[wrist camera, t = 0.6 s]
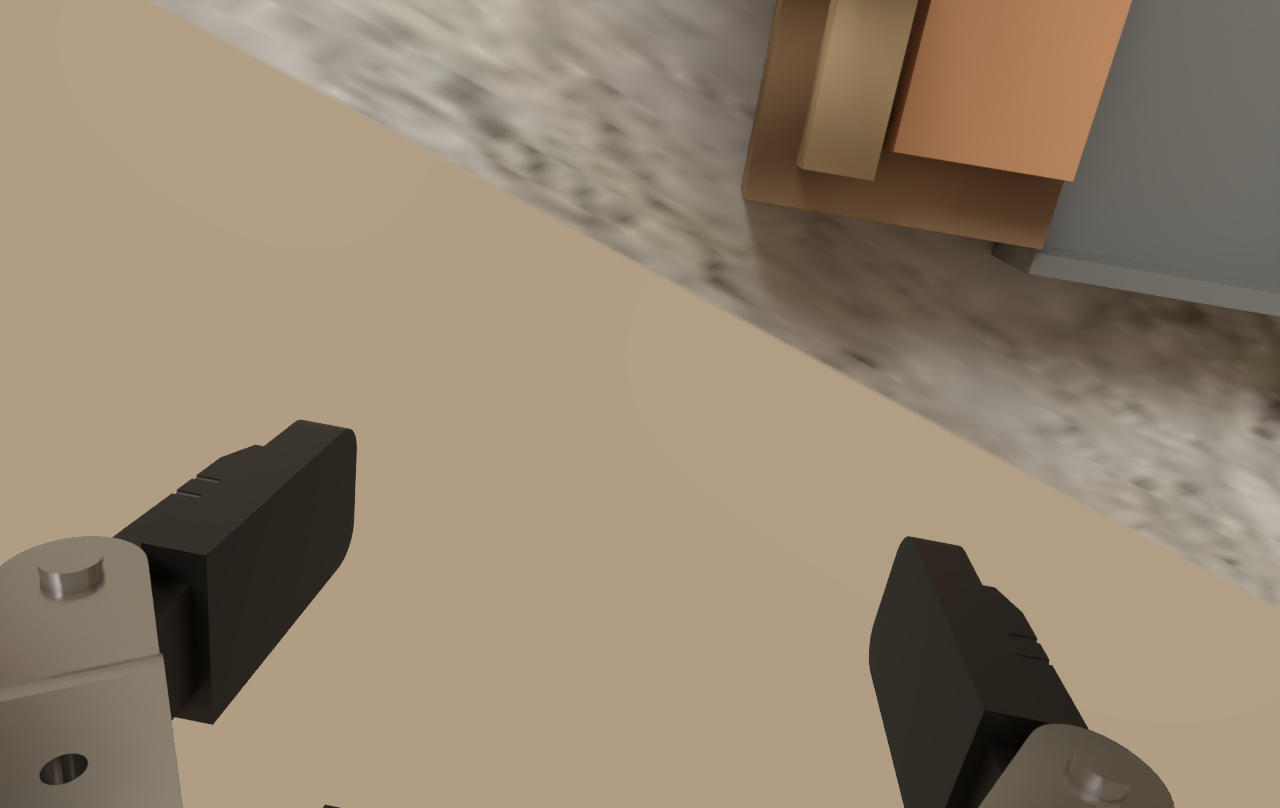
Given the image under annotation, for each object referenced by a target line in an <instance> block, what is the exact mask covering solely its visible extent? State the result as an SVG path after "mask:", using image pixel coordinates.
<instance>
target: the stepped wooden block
mask: <svg viewBox="0 0 1280 808" xmlns="http://www.w3.org/2000/svg"><path fill="white" fill-rule="evenodd" d="M830 2H831V0H777V3H776V8H775V14H774V19H773V24H772V29H771V34H770V40H769V45H768V50H767V55H766V60H765V66H764V71H763V76H762V81H761V86H760V92H759V97H758V102H757V107H756V113H755V118H754V123H753V128H752V133H751V139H750V144H749V149H748V154H747V159H746V165H745V170H744V175H743V180H742V185H741V190H742V193H743V197H744V199H745V200H751V201H757V202H763V203H769V204H775V205H781V206H787V207H793V208H799V209H805V210H810V211H816V212H822V213H828V214H834V215H840V216H846V217H852V218H858V219H864V220H870V221H876V222H881V223H887V224H893V225H899V226H905V227H911V228H917V229H923V230H929V231H935V232H941V233H947V234H953V235H958V236H964V237H970V238H976V239H982V240H988V241H994V242H1000V243H1006V244H1012V245H1018V246H1024V247H1030V248H1035V249H1041V250H1042V248H1043V245H1044V242H1045V239H1046V236H1047V233H1048V230H1049V227H1050V223H1051V220H1052V217H1053V214H1054V211H1055V208H1056V205H1057V202H1058V199H1059V195H1060V192H1061V189H1062V186H1063V183H1064V180H1060V179H1054V178H1048V177H1042V176H1036V175H1030V174H1024V173H1018V172H1012V171H1006V170H1000V169H994V168H988V167H982V166H976V165H970V164H964V163H958V162H952V161H946V160H940V159H934V158H928V157H922V156H915V155H909V154H903V153H897V152H892V151H887V150H882V149H883V145H884V141H885V137H886V133H887V129H888V125H889V121H888V125H887V129H886V133H885V137H884V141H883V145H882V149H881V153H880V157H879V161H878V166H877V170H876V174H875V178H874V181H871V180H865V179H859V178H853V177H847V176H841V175H835V174H829V173H823V172H817V171H811V170H805V169H802V168H800V167H799V166H797V165H796V162H797V157H798V153H799V148H800V143H801V139H802V134H803V129H804V124H805V120H806V115H807V110H808V106H809V101H810V96H811V91H812V87H813V82H814V77H815V73H816V68H817V63H818V58H819V54H820V49H821V44H822V39H823V35H824V30H825V25H826V21H827V16H828V11H829V6H830ZM918 2H919V0H918ZM918 2H917V6H918ZM917 6H916V10H917ZM916 10H915V14H916ZM915 14H914V18H913V23H914V19H915ZM913 23H912V27H913ZM912 27H911V31H912ZM911 31H910V35H911ZM910 35H909V39H910ZM909 39H908V43H909ZM908 43H907V47H908ZM907 47H906V51H907ZM906 51H905V55H906ZM905 55H904V59H905ZM904 59H903V63H904ZM903 63H902V67H903ZM902 67H901V72H902ZM901 72H900V76H901ZM900 76H899V80H900ZM899 80H898V84H899ZM898 84H897V88H898ZM897 88H896V92H897ZM896 92H895V96H896ZM895 96H894V100H895ZM894 100H893V104H894ZM893 104H892V108H893ZM892 108H891V112H892ZM891 112H890V116H891ZM889 120H890V117H889Z"/></svg>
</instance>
